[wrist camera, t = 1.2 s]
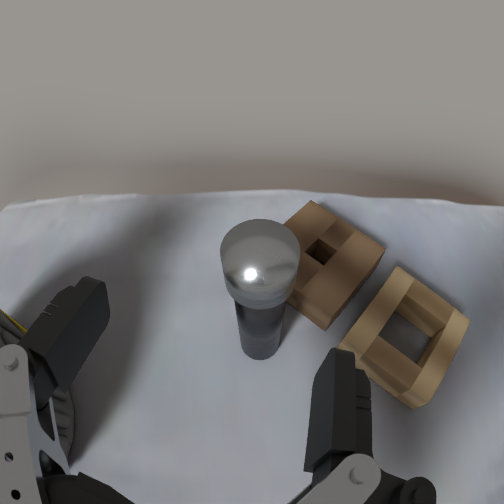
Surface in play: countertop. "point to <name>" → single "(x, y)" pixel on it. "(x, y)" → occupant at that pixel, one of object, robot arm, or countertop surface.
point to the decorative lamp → (10, 332)
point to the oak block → (393, 361)
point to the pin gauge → (260, 281)
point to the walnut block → (329, 263)
